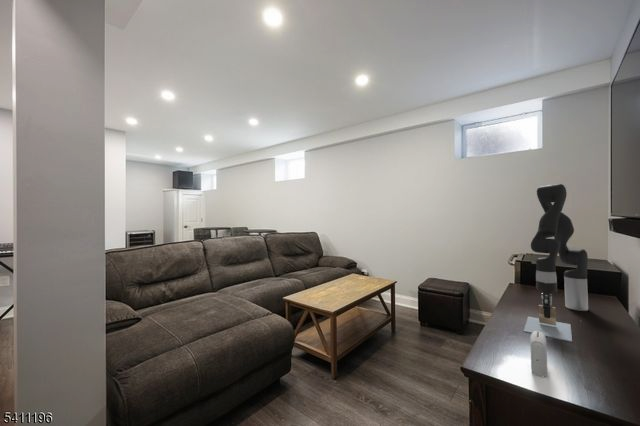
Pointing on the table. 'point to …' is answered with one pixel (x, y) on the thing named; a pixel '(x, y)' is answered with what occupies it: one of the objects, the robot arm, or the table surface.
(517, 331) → the table surface
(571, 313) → the table surface
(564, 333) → the mat
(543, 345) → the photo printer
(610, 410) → the table surface
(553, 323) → the tile
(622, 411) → the table surface
